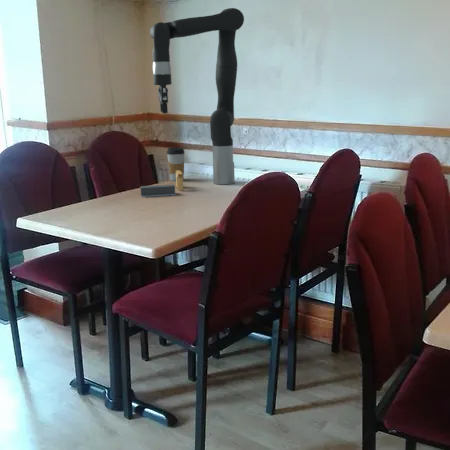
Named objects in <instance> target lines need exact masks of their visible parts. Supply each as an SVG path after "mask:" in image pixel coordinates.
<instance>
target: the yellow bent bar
mask: <svg viewBox="0 0 450 450" xmlns="http://www.w3.org/2000/svg"><path fill="white" fill-rule="evenodd" d="M175 183H176V184H175V185H176V186H175V187H176V188H178V189H177V190H178V191H184V179H183V174H182V172H181V171H180V170H178V171H176V181H175Z"/></svg>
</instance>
